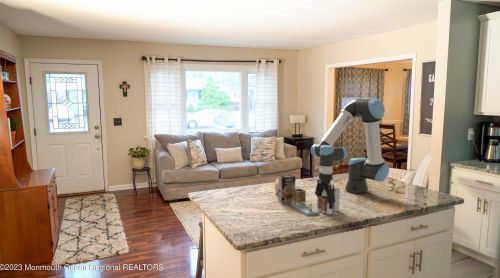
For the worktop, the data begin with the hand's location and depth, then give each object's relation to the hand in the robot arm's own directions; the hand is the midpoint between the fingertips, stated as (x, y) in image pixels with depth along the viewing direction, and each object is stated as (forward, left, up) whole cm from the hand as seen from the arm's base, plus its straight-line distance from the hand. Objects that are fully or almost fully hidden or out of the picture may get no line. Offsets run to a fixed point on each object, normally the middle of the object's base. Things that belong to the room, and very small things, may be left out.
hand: (324, 210), depth 191 cm
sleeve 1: (+9, -13, +1) cm, 16 cm away
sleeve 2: (0, 0, 0) cm, 0 cm away
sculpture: (+8, -40, -1) cm, 40 cm away
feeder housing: (-7, -7, 0) cm, 9 cm away
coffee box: (+13, -23, 0) cm, 27 cm away
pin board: (+9, -7, 0) cm, 11 cm away
